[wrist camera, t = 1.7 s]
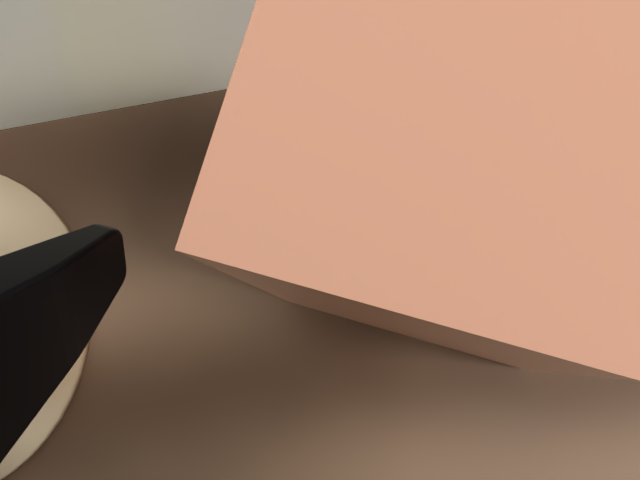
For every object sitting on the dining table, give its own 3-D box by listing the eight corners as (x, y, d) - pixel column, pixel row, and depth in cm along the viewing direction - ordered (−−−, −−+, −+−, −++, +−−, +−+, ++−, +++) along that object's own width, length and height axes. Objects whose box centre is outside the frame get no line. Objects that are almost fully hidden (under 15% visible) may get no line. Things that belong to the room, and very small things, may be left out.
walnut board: (724, 676, 16) (867, 819, 11) (-195, 733, 20) (-404, 864, 14) (584, 67, 20) (644, -30, 15) (-171, 198, 23) (-331, 154, 18)
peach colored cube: (519, 368, 16) (643, 381, 7) (288, 301, 17) (175, 249, 9) (573, 140, 17) (738, -73, 8) (350, 92, 18) (300, -137, 10)
